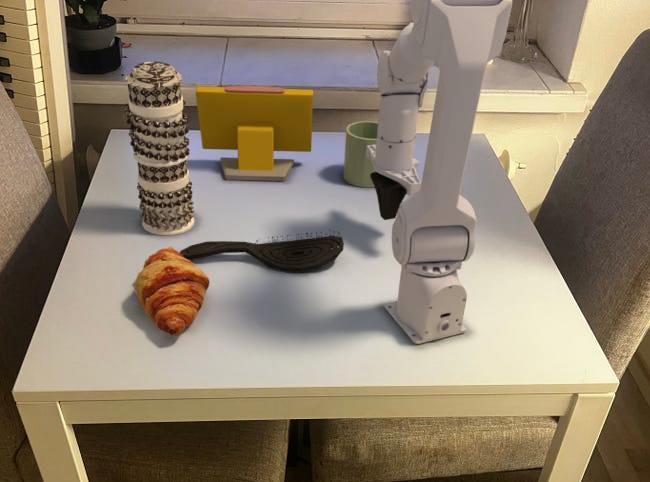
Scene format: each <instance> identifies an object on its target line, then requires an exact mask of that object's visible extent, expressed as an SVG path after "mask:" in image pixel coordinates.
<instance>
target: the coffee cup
mask: <svg viewBox="0 0 650 482" xmlns="http://www.w3.org/2000/svg"><path fill="white" fill-rule="evenodd" d="M377 130H378V121H373V120H362V121H361V120H360V121H355V122H353V123H349V124H348V125H347V126H346V128H345V140H344V156H343V179H344V181H345V182H347V183H348V184H350V185H352V186H355V187H359V188H375V187H374V184H373V182H372V180H371V178H370V174H371V173H373V172H376V171H375V170H374V168H373V164H372V161H371V159H368V158H367V157H366V149H367V146H368V145H375V144H376V142H377Z"/></svg>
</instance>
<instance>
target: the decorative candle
mask: <svg viewBox="0 0 650 482" xmlns="http://www.w3.org/2000/svg"><path fill="white" fill-rule="evenodd" d="M124 80H125V82H127V90H128V103H126V104H125V105H124V108H125V109H124V114H126V119H125V123H126V124H128V126H129V128H128V130H129V132H128V137H130V142H129V144H130V146H131V147H132V151H133V159H134V160H135V161H136V162H137V170H138V171H137V178H138V179H137V180H138V181H137V186H136V189H137V190H138V197H137V198H138V199H139V200H140V201H139V211H140V218H141V220H142V222H141V223H142V224H141V225H142V227H143V228H144V230H145V231H147V232H148V233H150V234H153V235H158V236H176V235H179V234H180V235H181V234H183V233H186V232H187V231H189V230H191V229H192V228H193V227H194V225H195V215H194V213H195V210H194V206H193V205H194V203H195V202H194V201H193V200H192V198H193V192H194V191H193V190H192V185H193V182H192V181H191V180H190V171H189V169H188V161H187V159H188V158H189V157H190V153H191V152H190V151H191V149H190V148H189V147H188V146H190V139H189V138H188V137H187V136H186V135H187V134H188V133H189V132H190V127H189V125H187V123H189V116H188V114H186V113H185V112H183V110H184V106H186V100H184V98H183V97H184V96H183V95H182V91H181V90H182V85H181V81H182V80H183V75H182V74H181V73H180V72H178V71H176V69H175V68H174V67H173V66H172V65H171V64H169V63H167V62H163V61H144V62H140V63H138V64H136V65H134V67H132V69H131V71H130V72H129V74H127V75H125V78H124Z"/></svg>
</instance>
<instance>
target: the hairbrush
mask: <svg viewBox="0 0 650 482" xmlns="http://www.w3.org/2000/svg"><path fill="white" fill-rule="evenodd" d="M331 232H332V233H333V234H331ZM335 233H337V234H338V235H336V234H335ZM300 234H301V235H303V233H302V232H301V233H297V237H300ZM308 234H309V232H306V233H305V235H306V236H305V237H306V238H299V239H291V240H284V238H283V237H284V236H283V235H280V238H282V239H281V241H279V236H278V235H277V239H275V238H274V236H271V239H273V241H271V242H269V241H266V242H262V243H258V241H259V240H258V239H257V240H256V242H254V243H253V242H249V241H235V240H234V241H233V240H231V241H229V240H228V241H227V240H217V241H216V240H215V241H212V240H211V241H202V242H199V243H195V244H191V245H189V246H187V247H185V248H183V249H181V250H180V251H179V253H181V254H182V255H183V256H184V258H185V259H187V260H189V261H194V260H198V259H204V258H208V257H213V256H217V255H222V254H235V253H237V254H238V253H240V254H241V253H245V254H247V255H248V256H250V257H252V258H254V259H255V260H257V261H258V262H260V263H261V264H263V265H265V266H267V267H269V268H270V269H274V270H277V271H281V272H285V273H305V272H309V271H315V270H319V269H321V268H322V267H324V266H326V265H328V264H330V263H332V262H334V261H335V260H336V259H337V258H338V257H339V256H340V255H341V254H342V252H343V251H344V248H345V247H344V246H345V243H344V239H343V236H342V235H341V232H340V231H338V230H337V231H334V230H331V229H330V230H329V235H328V233H324V236H323V235H322V234H323V232H322V231H321V232H320V234H321V235H320V236H318V235H317V234H318V232H317V231H316V232H315V234H316V235H315V237H313V235H312V234H313V232H310V234H311V235H310V237H309V235H308ZM288 236H289V237H291V235H290V234H289V235H288V234H287V235H286V237H288ZM308 237H309V238H308ZM267 239H270V237H269V236H267ZM275 240H276V241H275Z"/></svg>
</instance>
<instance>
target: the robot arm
mask: <svg viewBox="0 0 650 482" xmlns="http://www.w3.org/2000/svg"><path fill="white" fill-rule="evenodd" d="M409 6H410V17H411V20H412V22H409V24H408V25H406V26H405V27H404V28H403V29H402V30H401V32H400V34H399V35H398V37H397V39H396V40H395V43H394V45H393V47H392V49H391V50H381V51H380V54H379V57H378V61H377V68H376V70H377V71H376V80H377V88H378V92H379V94H380V96H379V109H378V120H377V122H378V130H377V142H376V144H375V145H368V146H367V149H366V157H367V158H368V159H371V161H372V164H373V168H374V170H375V171H376V172H373V173H371V174H370V178H371V180H372V182H373V184H374V187H373V188H374V189H375V193H376V199H377V203H378V210H379V215H380V218H382V220H384V221H388V220H393V219H394V221H393V223H392V228H391V249H392V255H393V257H394V260H396V262H397V263H398V264H399V265H401V266H400V274H399V275H400V276H399V285H398V292H397V300H396V301H390V302H387V303H385V304H384V307H383V308H384V309H385V310H386V311H387V312H388V314H389V315H390V316H391V317H392V318H393V319H394V321H395V322H396V323H397V325H399V327H400V328H401V329H402V330H403V332H404V333H405V334H406V335H407V336H408V337H409V339H410V340H411V341H412V342H413V343H414V344H417V345H420V344H424V343H427V342H431V341H436V340H440V339H444V338H447V337H452V336H455V335H459V334H463V333H466V331H467V328H466V327H465V326H464V324H463V320H464V315H465V309H466V304H467V299H468V294H467V290H466V288H465V287H464V286H463V284H462V283H461V281H460V279H459V275H458V270H461V269H462V264H463V262H465V263H466V262H467V261H469V260H470V259H471V257H472V256H473V254H474V252H475V248H476V228H477V221H478V219H477V216H476V213H475V211H474V207H473V205H472V204H471V202H469V201H468V200H467V199H466V198H465V197H464V196H462V195H461V190H462V189H461V188H462V184H463V180H464V175H465V171H466V166H467V160H468V156H469V150H470V145H471V141H472V136H473V131H474V128H475V127H474V126H475V121H476V117H477V112H478V107H479V103H480V98H481V92H482V87H483V84H484V79H485V74H486V70H487V66H488V63H490V61H491V62H492V60H494V59H496V57H498V56H499V55H501V53H502V50H503V45H504V43H505V40H506V35H507V32H508V26H509V22H510V17H511V13H512V7H513V0H410V5H409ZM434 64H437V66H438V69H439V74H438V82H437V87H436V92H435V98H434V106H433V110H432V117H431V123H430V130H429V136H428V142H427V148H426V154H425V160H424V164H423V165H424V166H423V172H422V178H421V179H420V178H419V176H418V173H417V170H416V167H419V160H417V158H415V157H414V155H415V144H416V136H417V129H418V127H417V126H418V119H419V118H418V117H419V110H420V108H422V107H423V104H424V97H425V94H426V91H427V89H428V85H429V74H430V73H429V71H430V69H431V68H432V67H433V65H434ZM406 195H407V196H408V197H407V198H406V199H405V200H404V198H405V197H406Z"/></svg>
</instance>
